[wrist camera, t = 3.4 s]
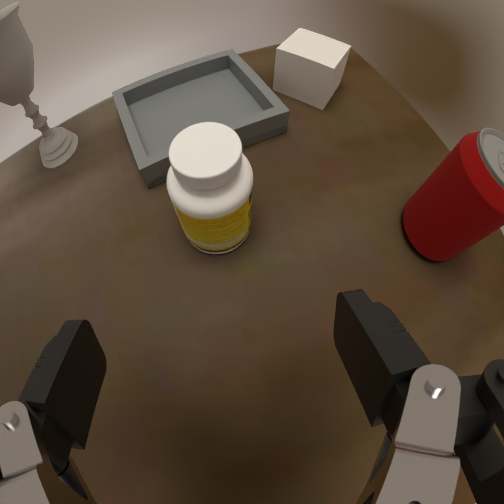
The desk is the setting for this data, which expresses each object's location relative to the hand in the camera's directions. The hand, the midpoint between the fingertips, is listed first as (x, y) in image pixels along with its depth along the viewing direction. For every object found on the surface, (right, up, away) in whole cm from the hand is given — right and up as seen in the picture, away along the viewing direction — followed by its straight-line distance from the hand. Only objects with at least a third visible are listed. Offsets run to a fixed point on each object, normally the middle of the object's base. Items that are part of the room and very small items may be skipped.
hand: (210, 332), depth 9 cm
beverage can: (+18, +4, +16) cm, 24 cm away
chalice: (-20, +14, +18) cm, 31 cm away
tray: (-4, +16, +19) cm, 26 cm away
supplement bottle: (-1, +5, +16) cm, 17 cm away
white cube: (+8, +21, +22) cm, 31 cm away
